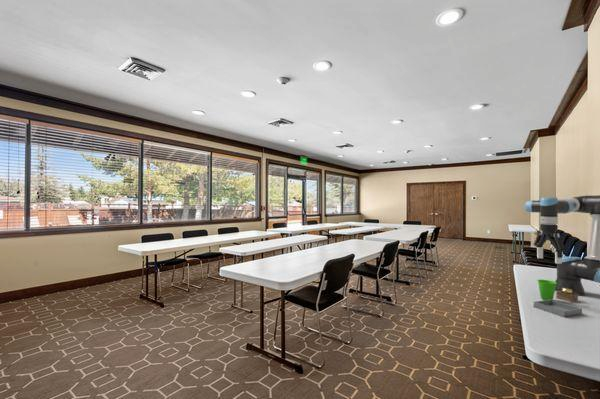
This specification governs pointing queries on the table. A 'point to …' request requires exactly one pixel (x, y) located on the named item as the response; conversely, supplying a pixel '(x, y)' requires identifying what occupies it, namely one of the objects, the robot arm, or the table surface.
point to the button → (567, 291)
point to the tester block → (567, 296)
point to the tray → (558, 308)
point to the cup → (547, 289)
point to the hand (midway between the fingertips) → (548, 260)
